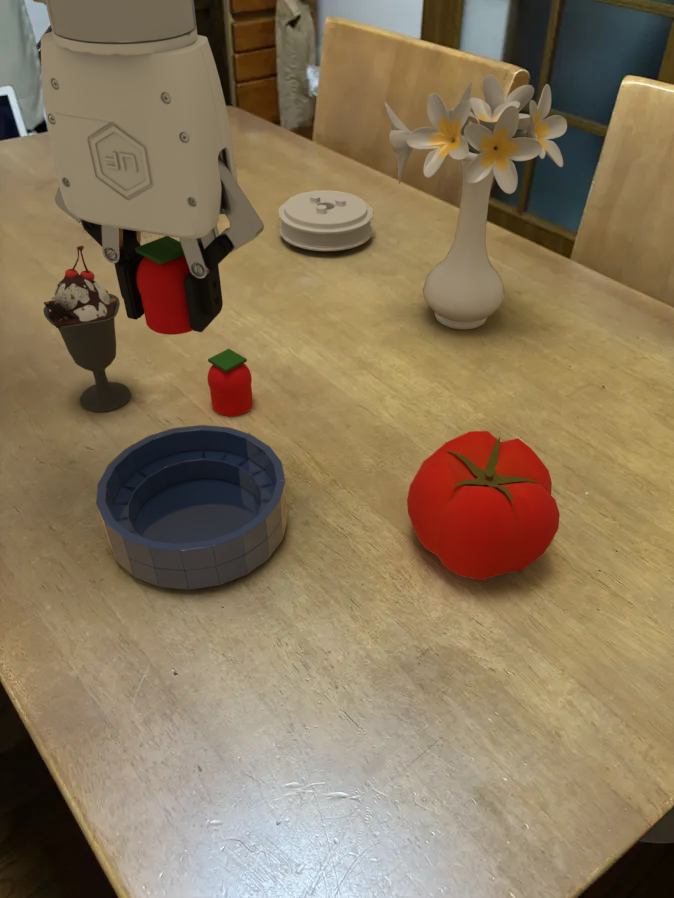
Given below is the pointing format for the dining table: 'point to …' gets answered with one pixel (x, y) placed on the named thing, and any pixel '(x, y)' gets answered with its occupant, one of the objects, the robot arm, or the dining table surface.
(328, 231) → the lid
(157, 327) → the strawberry
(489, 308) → the flower vase
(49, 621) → the dining table surface
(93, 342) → the sundae
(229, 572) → the bowl
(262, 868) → the dining table surface
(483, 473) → the tomato
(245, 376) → the strawberry
